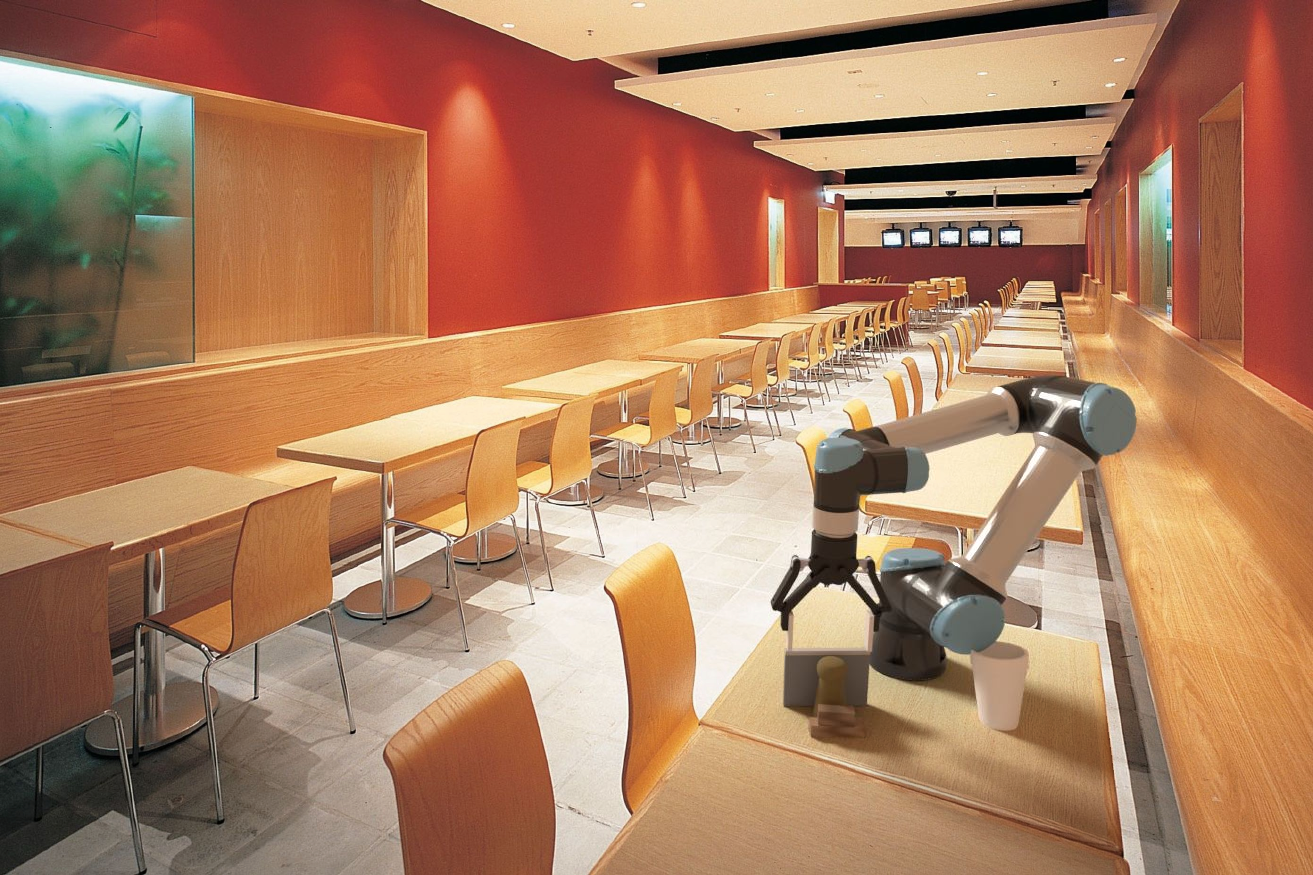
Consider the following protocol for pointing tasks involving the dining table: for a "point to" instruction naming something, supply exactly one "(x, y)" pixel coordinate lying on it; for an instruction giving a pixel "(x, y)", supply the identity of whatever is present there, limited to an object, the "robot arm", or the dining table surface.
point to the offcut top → (836, 715)
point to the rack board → (805, 678)
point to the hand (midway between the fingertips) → (828, 647)
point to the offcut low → (836, 729)
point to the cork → (830, 682)
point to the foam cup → (1000, 684)
